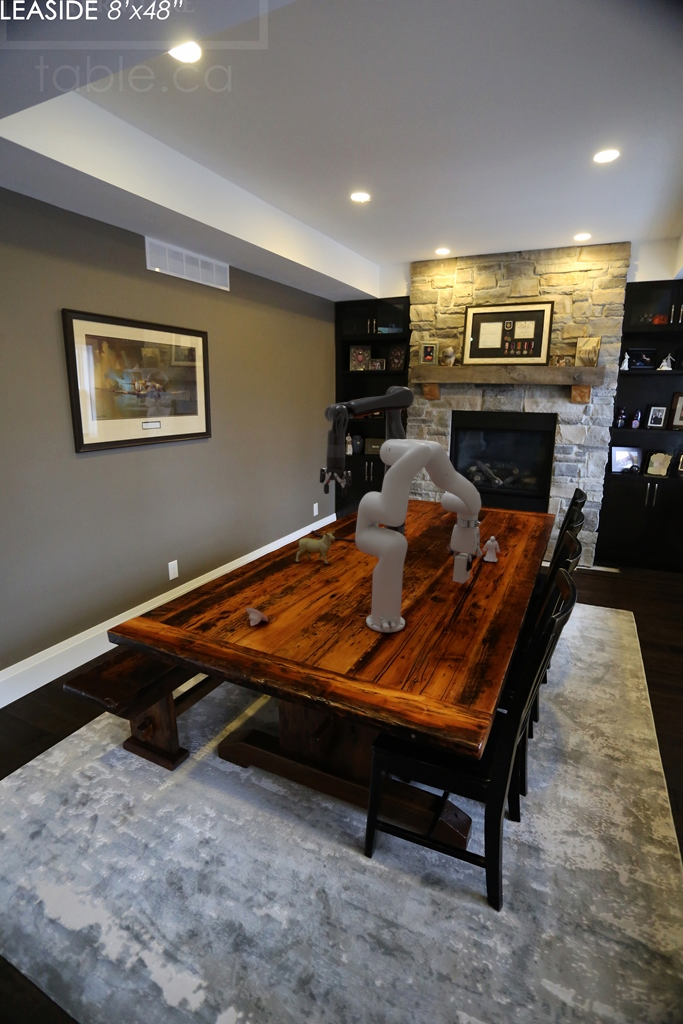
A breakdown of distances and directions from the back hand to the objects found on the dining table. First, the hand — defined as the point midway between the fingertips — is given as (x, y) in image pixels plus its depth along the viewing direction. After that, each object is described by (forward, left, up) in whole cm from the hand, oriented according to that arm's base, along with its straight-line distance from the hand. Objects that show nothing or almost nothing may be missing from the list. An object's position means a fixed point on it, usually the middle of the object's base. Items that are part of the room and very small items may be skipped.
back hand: (335, 495), depth 204 cm
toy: (-9, -4, -32) cm, 33 cm away
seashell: (+33, -47, -32) cm, 66 cm away
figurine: (+25, +67, -32) cm, 78 cm away
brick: (+42, +33, -28) cm, 60 cm away
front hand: (+42, +33, -24) cm, 58 cm away
